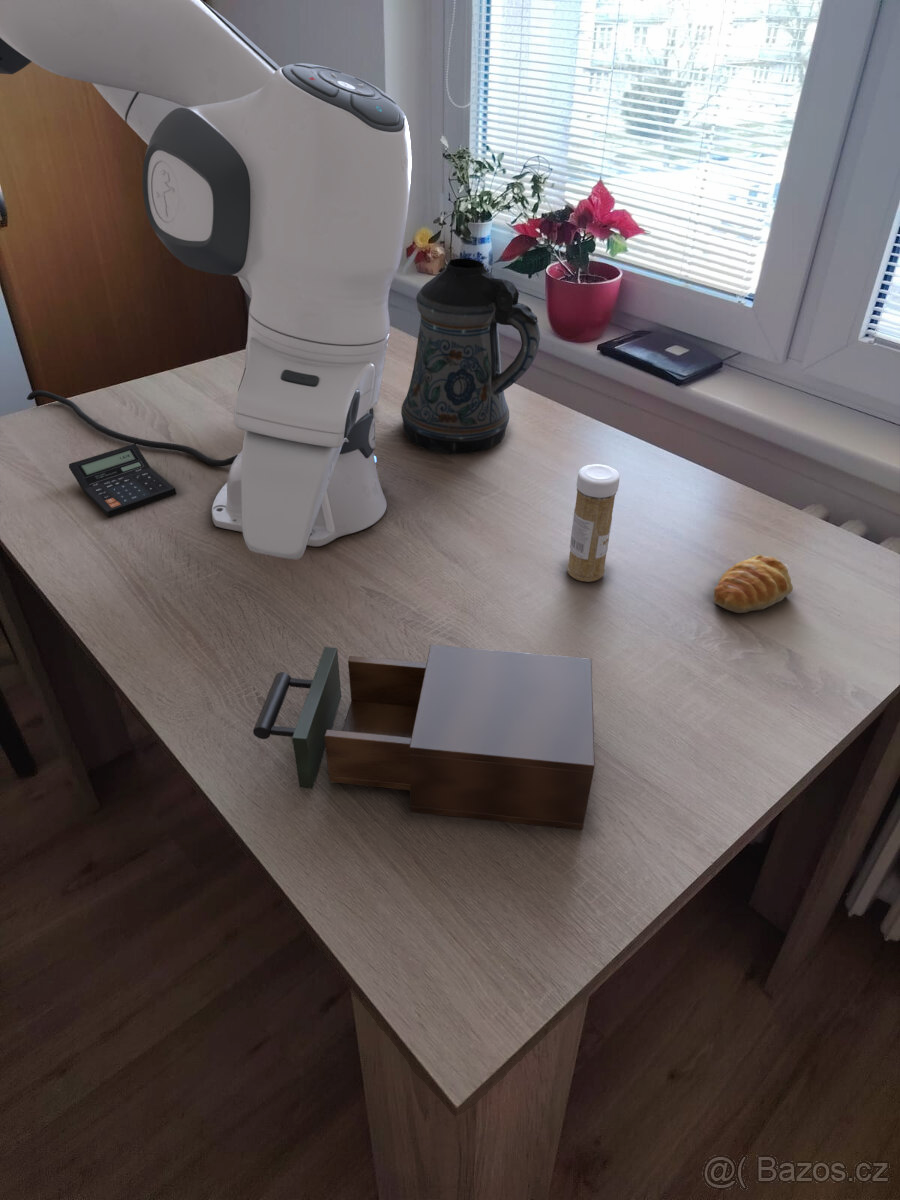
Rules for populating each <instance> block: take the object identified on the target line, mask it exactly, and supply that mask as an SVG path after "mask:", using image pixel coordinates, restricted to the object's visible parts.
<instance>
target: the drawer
mask: <svg viewBox="0 0 900 1200" xmlns="http://www.w3.org/2000/svg"><path fill="white" fill-rule="evenodd" d="M347 664H348V677H349V678H348V679H349V690H350V703H349V706H348V710H347V714H346V717H345V720H344V724H343V727H342V730H336V729H333V726H334V722H335V719H336V715H337V712H338V709H339V706H340V703H341V699H342V686H341V675H340V664H339V652H338V647H333V646H332V647H331V646H324V648H323V650H322V653H321V656H320V658H319V661H318V664H317V667H316V670H315V672H314V674H313V678H312V679H307V678H306V679H305V678H297V677H295V678H294V677H291V676H290V674H289V673H287V672H283V671H282V672H281V671H280V672H277V673H276V674H275V676H274V678H273V681H272V684H271V686H270V688H269V691H268V693H267V695H266V698H265V701H264V702H263V704H262V708H261V710H260V712H259V715H258V718H257V720H256V722H255V725H254V727H253V730H252V732H253V735H254V736H255V738H257V739H260V740H266V739H269V738H270V737H271V735H272V736H280V737H290V738H291V740H292V746H293V754H294V761H295V767H296V768H295V769H296V774H297V780H298V781H297V782H298V788H300V789H308V790H314V787H315V783H316V780H317V777H318V774H319V771H320V768H321V764H322V761H323V758H324V754H326V760H327V761H326V762H327V771H328V779H329V782H330V783H337V784H345V785H347V784H348V785H355V786H366V787H376V788H384V789H396V790H404V791H410V753H409V747H410V742H411V737H412V732H413V728H414V723H415V718H416V713H417V708H418V703H419V698H420V693H421V688H422V684H423V679H424V674H425V669H426V664H427V662H423V661H422V662H421V661H413V660H412V661H410V660H400V659H391V658H390V659H388V658H380V657H379V658H377V657H367V656H356V655H350V656H349V657H348V661H347ZM289 688H299V689H301V688H302V689H308V693H307V695H306V697H305V701H304V704H303V706H302V709H301V712H300V715H299V717H298V720H297V723H296V726H295V727H290V726H281V725H276V722H277V720H278V717H279V714H280V712H281V709H282V706H283V703H284V701H285V700H286V699H285V698H286V696H287V693H288V692H289V691H288V690H289Z"/></svg>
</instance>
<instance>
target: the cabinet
mask: <svg viewBox="0 0 900 1200" xmlns="http://www.w3.org/2000/svg"><path fill="white" fill-rule="evenodd" d="M426 663H427V664H426V669H425V674H424V679H423V684H422V688H421V693H420V698H419V703H418V708H417V713H416V718H415V723H414V728H413V732H412V737H411V742H410V747H409V753H410V790H409V797H410V798H409V799H410V800H409V801H410V804H409V805H410V812H411V813H416V814H417V813H418V814H427V815H436V816H437V815H438V816H444V817H445V816H447V817H454V818H456V817H457V818H466V819H475V820H484V821H494V822H503V823H511V824H521V825H532V826H533V825H534V826H540V827H541V826H542V827H550V828H551V827H552V828H559V829H560V828H561V829H569V830H570V829H571V830H577V831H578V830H579V831H583V830H584V825H585V821H586V814H587V808H588V805H589V799H590V793H591V788H592V783H593V776H594V773H595V772H594V771H595V765H596V763H595V731H594V727H595V726H594V699H593V698H594V697H593V666H592V665H593V663H592V658H586V657H577V656H576V657H574V656H562V655H552V654H540V653H529V652H518V651H508V650H507V651H506V650H496V649H487V648H486V649H485V648H474V647H473V648H472V647H463V646H451V645H450V646H449V645H439V644H430V645H429V650H428V654H427V659H426Z"/></svg>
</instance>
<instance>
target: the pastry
mask: <svg viewBox="0 0 900 1200" xmlns="http://www.w3.org/2000/svg"><path fill="white" fill-rule="evenodd" d="M793 589H794V587H793V584H792V578H791V576H790V574H789V570H788V568H787V566H786V565H785V564H784V563H783V562H781V560H779V559H777V558H776V557H773V556H770V555H768V556H765V555H763V554H758V555H753V556H751V557H750V558H749V559H745V560H741V561H739V562H738V563H736V564H734V565H733V566H732V567H730V568H728V569H727V570H726V571H725V572H724V573H723V574H722V575H721V577H720V578H719V580H718V583H717V585H716V587H714V589H713V602H714V604H716V605H718V606H720V607H721V608H723V609H725V610H728V611H729V612H733V613H737V614H743V613H744V614H747V613H749V612H752V611H753V612H754V611H755V612H756V611H757V612H758V611H761V610H765V609H766V608H769V607H771V606H774V605H775V604H776V603H780V602H782V601H783V600H784V598H785V597H788V596H789V595H790V594H791V593H792V592H793Z"/></svg>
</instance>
